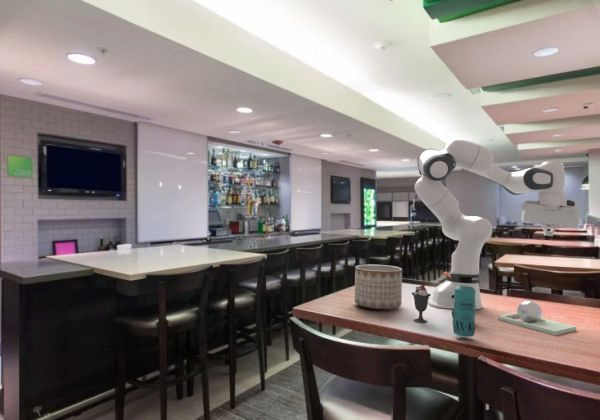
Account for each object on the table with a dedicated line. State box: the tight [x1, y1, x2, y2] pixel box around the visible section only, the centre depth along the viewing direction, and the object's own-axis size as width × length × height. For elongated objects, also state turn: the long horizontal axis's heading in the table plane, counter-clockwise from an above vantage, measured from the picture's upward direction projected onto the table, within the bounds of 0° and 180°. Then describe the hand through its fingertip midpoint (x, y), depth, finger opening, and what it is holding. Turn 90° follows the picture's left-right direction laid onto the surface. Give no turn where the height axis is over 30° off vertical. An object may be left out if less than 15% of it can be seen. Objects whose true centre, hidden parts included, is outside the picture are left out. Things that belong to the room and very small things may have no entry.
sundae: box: [411, 280, 432, 324], centre depth 136 cm, size 7×7×15 cm
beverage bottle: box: [452, 275, 476, 338], centre depth 118 cm, size 6×7×20 cm
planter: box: [354, 264, 403, 311], centre depth 156 cm, size 19×19×16 cm
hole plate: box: [497, 312, 577, 336], centre depth 134 cm, size 20×13×1 cm, turn 28°
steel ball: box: [516, 300, 543, 323], centre depth 137 cm, size 8×8×8 cm
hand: (548, 235), depth 150 cm, fingers closed
